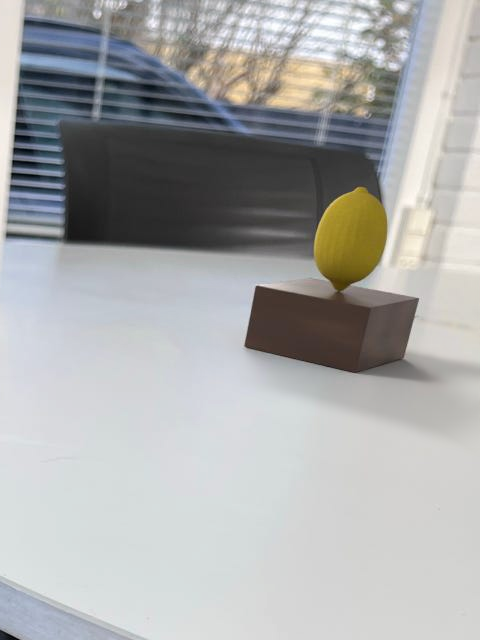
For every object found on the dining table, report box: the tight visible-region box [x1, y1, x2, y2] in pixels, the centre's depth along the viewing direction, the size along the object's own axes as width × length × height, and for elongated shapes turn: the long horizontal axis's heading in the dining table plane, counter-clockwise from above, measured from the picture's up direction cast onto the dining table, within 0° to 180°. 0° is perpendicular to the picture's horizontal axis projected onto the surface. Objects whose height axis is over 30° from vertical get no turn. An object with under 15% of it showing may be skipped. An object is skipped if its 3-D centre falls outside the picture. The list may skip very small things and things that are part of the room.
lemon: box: [313, 186, 388, 291], centre depth 86 cm, size 6×6×8 cm
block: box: [243, 277, 420, 373], centre depth 88 cm, size 10×10×5 cm
